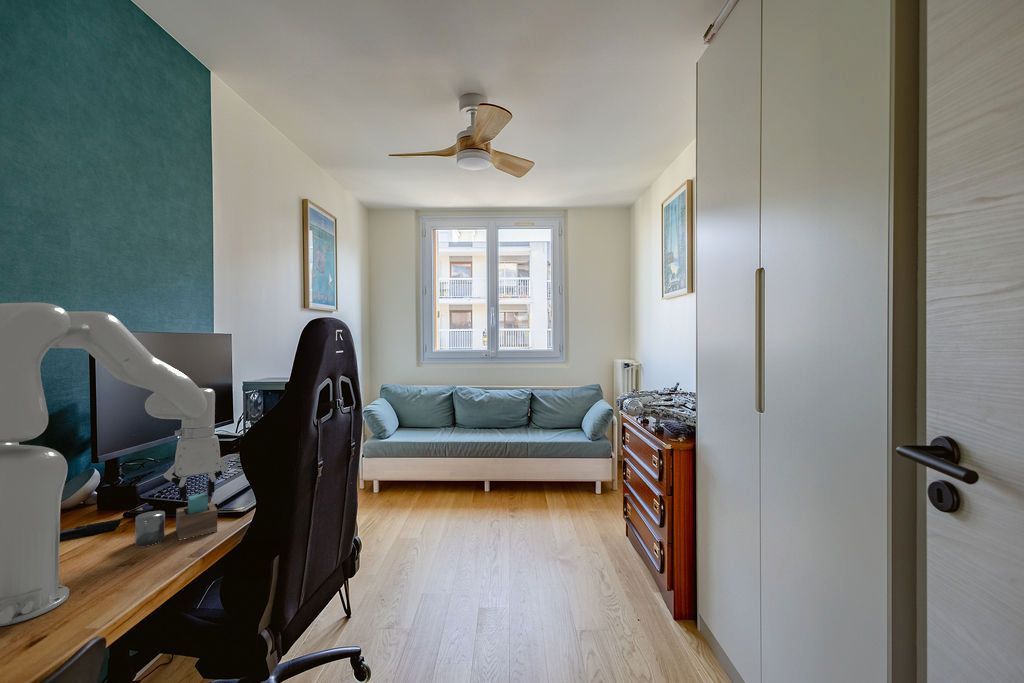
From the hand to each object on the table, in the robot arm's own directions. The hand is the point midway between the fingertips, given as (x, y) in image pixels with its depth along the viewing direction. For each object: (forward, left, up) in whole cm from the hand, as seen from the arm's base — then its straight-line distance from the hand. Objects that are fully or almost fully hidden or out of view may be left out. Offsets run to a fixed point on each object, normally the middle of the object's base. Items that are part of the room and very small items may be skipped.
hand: (197, 497), depth 122 cm
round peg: (0, +10, -9) cm, 14 cm away
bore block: (0, 0, -9) cm, 9 cm away
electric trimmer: (+17, +24, -10) cm, 31 cm away
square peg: (0, 0, -8) cm, 8 cm away
